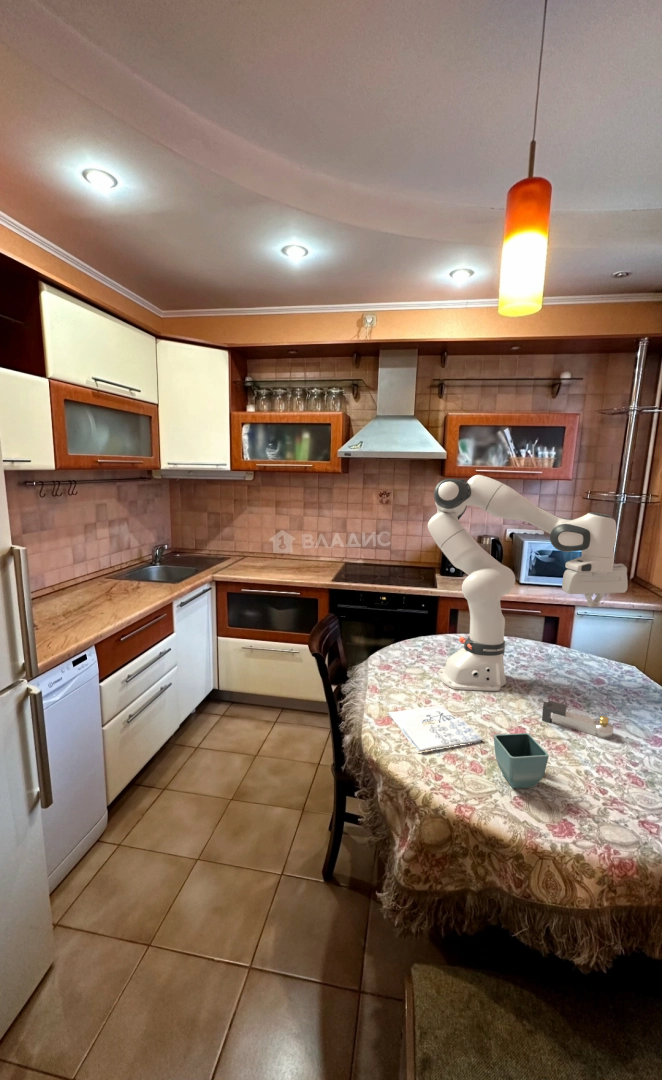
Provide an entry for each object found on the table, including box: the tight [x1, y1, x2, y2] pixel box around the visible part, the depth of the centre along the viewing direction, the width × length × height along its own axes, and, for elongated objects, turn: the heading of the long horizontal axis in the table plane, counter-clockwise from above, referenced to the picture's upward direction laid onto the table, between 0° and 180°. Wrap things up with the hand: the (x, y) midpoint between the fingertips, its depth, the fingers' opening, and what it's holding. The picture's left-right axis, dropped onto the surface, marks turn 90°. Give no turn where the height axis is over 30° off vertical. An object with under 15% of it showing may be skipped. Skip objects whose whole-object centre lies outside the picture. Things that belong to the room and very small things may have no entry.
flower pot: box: [493, 732, 550, 789], centre depth 99 cm, size 9×9×9 cm
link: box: [551, 711, 614, 740], centre depth 118 cm, size 14×4×3 cm, turn 54°
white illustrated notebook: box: [387, 704, 484, 751], centre depth 121 cm, size 19×20×2 cm
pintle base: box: [541, 700, 610, 726], centre depth 120 cm, size 18×19×6 cm
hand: (593, 606), depth 140 cm, fingers closed
